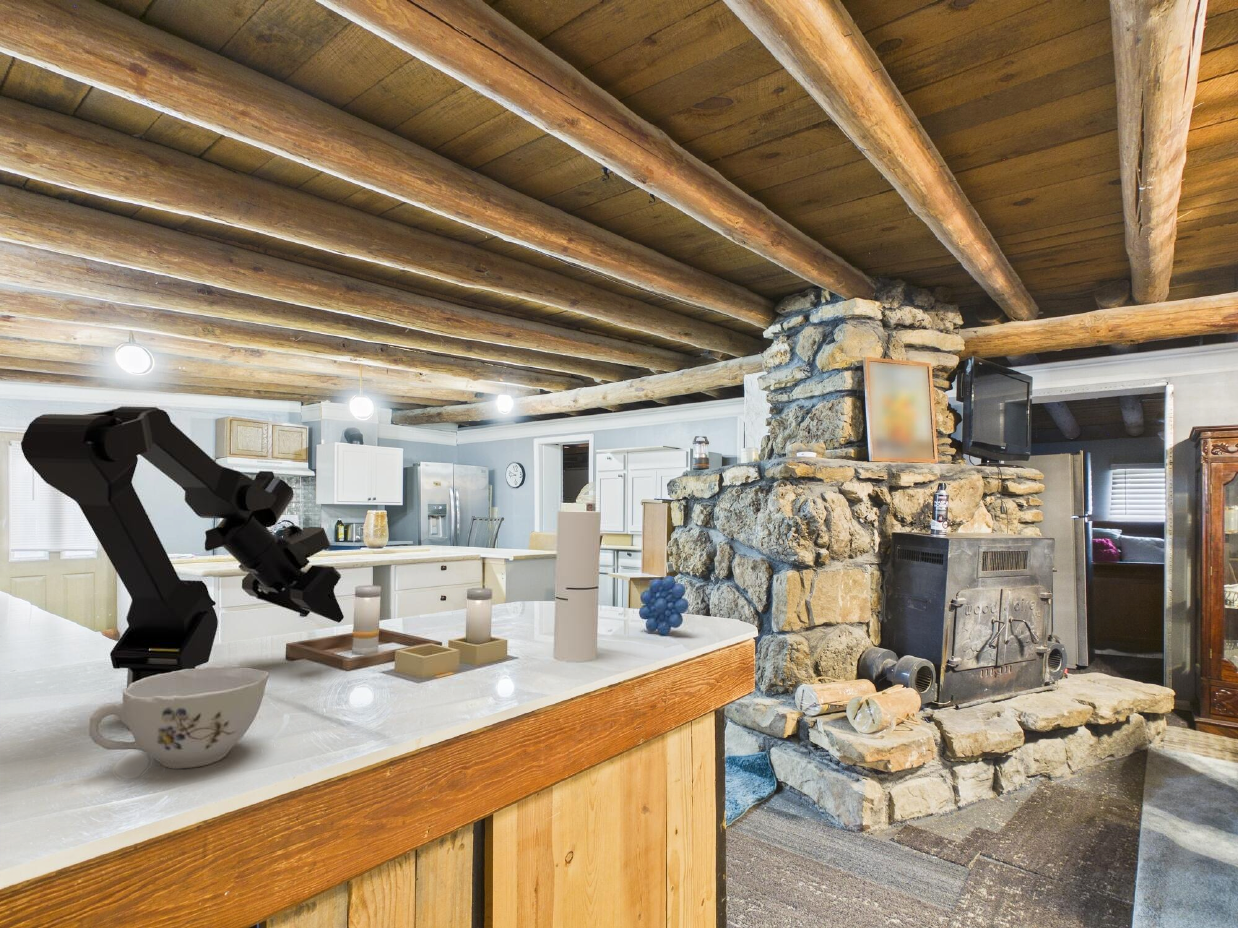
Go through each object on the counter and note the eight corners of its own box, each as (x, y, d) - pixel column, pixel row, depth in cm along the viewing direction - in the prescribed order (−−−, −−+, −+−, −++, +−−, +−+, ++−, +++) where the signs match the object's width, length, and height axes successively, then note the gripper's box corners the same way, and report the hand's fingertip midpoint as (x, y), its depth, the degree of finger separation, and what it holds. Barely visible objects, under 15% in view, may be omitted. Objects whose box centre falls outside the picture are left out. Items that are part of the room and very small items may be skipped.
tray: (347, 677, 100) (347, 660, 100) (285, 658, 110) (286, 643, 110) (441, 657, 114) (442, 642, 114) (379, 642, 124) (379, 628, 124)
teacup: (245, 728, 78) (249, 657, 78) (280, 761, 69) (284, 681, 69) (78, 760, 68) (83, 679, 68) (93, 804, 58) (99, 709, 59)
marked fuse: (361, 658, 109) (364, 589, 109) (346, 654, 111) (349, 586, 112) (383, 654, 112) (386, 587, 113) (368, 649, 115) (371, 584, 115)
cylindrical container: (590, 669, 108) (595, 512, 109) (547, 666, 109) (552, 511, 110) (600, 659, 115) (604, 511, 116) (560, 656, 116) (564, 510, 117)
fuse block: (418, 690, 94) (419, 661, 95) (379, 678, 100) (380, 651, 100) (519, 663, 111) (520, 638, 111) (481, 655, 116) (482, 631, 116)
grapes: (698, 635, 137) (699, 576, 138) (680, 640, 132) (682, 578, 132) (651, 627, 144) (652, 571, 145) (632, 632, 139) (633, 573, 139)
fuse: (476, 662, 106) (478, 591, 107) (459, 658, 109) (462, 589, 110) (495, 658, 110) (497, 589, 110) (479, 654, 112) (481, 587, 113)
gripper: (331, 510, 97) (394, 582, 106) (265, 507, 108) (327, 572, 117) (273, 569, 90) (345, 641, 99) (210, 559, 101) (279, 624, 110)
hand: (324, 616), depth 106 cm, fingers open, 9 cm apart
